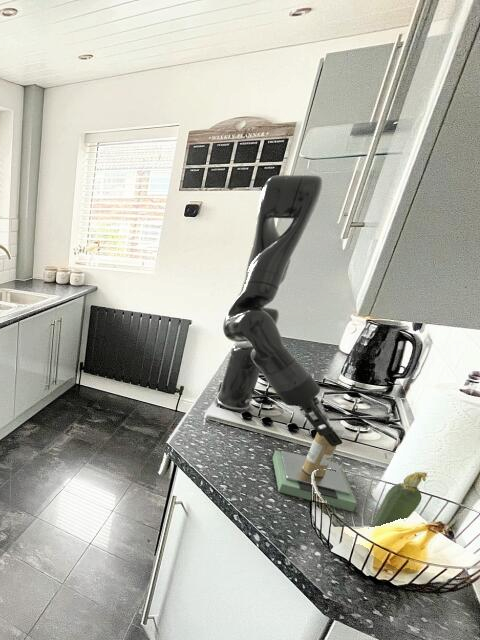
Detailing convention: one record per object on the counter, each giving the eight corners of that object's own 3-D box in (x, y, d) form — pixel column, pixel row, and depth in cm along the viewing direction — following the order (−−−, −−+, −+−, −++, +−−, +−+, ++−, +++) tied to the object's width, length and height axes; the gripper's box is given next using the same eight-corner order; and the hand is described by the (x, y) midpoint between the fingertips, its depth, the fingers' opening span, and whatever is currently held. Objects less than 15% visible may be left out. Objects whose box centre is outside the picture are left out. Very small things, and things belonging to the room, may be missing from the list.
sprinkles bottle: (326, 479, 100) (348, 431, 94) (302, 473, 102) (322, 426, 96) (322, 469, 104) (343, 422, 98) (300, 464, 106) (319, 417, 100)
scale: (272, 457, 113) (275, 449, 112) (337, 473, 107) (341, 465, 106) (278, 492, 101) (282, 483, 100) (353, 512, 95) (357, 503, 93)
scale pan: (279, 452, 111) (280, 450, 111) (336, 466, 106) (338, 463, 106) (285, 479, 101) (286, 477, 101) (349, 495, 96) (350, 493, 96)
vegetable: (356, 539, 87) (398, 459, 79) (382, 545, 86) (428, 464, 77) (365, 554, 84) (410, 473, 75) (392, 561, 82) (442, 478, 74)
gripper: (313, 384, 90) (360, 443, 90) (303, 362, 101) (345, 415, 101) (276, 400, 95) (321, 457, 95) (270, 377, 106) (310, 428, 106)
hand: (333, 435), depth 98 cm, fingers open, 8 cm apart
